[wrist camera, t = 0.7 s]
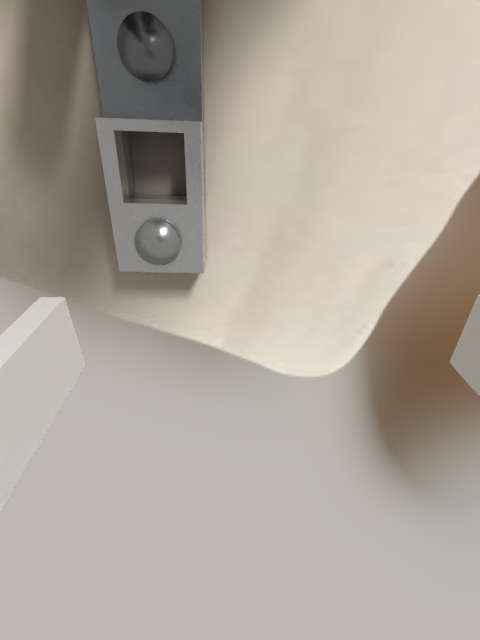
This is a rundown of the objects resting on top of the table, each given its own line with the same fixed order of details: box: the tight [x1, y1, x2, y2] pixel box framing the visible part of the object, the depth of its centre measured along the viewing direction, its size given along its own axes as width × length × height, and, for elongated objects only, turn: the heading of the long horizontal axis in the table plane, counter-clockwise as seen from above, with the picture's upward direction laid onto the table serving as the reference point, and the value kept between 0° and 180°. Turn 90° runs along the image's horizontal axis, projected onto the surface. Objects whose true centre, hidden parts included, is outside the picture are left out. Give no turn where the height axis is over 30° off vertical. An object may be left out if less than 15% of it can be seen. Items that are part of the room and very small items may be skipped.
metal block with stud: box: [86, 0, 206, 273], centre depth 28 cm, size 21×8×5 cm, turn 178°
